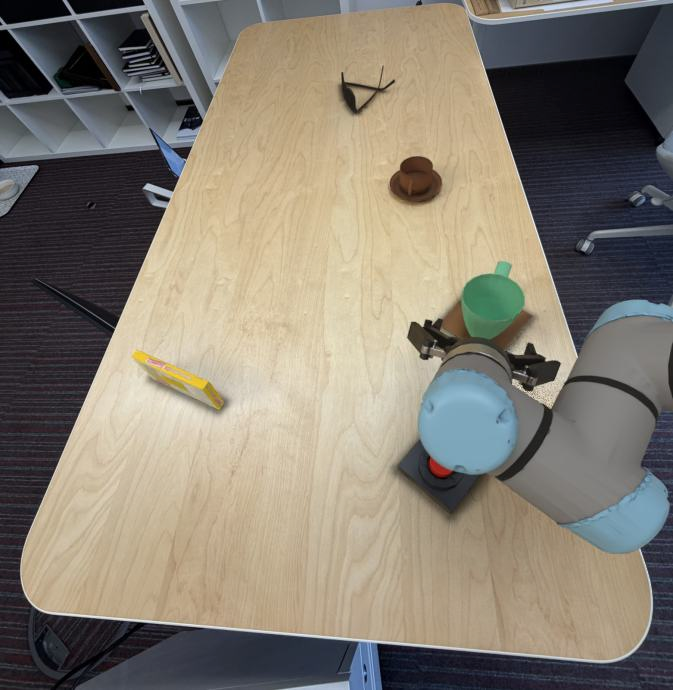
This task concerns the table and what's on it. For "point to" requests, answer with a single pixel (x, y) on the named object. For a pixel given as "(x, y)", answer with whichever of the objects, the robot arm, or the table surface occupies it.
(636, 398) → the robot arm
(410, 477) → the control block
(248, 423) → the table surface
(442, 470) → the stop button
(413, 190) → the cup and saucer
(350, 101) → the sunglasses
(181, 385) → the candy box
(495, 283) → the mug
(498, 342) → the brown pad
